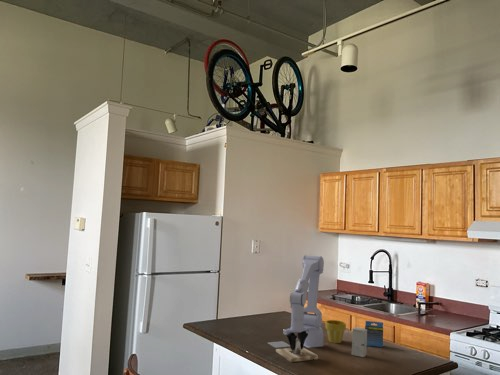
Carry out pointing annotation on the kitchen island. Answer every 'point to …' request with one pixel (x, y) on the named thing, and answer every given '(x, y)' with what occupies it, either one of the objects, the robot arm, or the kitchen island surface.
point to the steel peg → (297, 347)
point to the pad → (278, 344)
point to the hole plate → (297, 355)
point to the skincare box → (359, 341)
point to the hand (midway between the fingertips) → (296, 349)
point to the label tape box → (374, 333)
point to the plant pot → (335, 330)
